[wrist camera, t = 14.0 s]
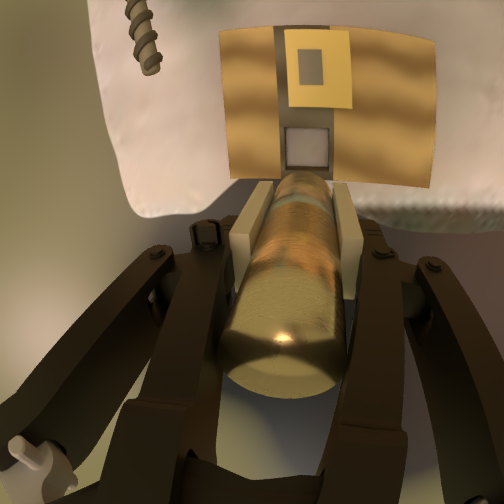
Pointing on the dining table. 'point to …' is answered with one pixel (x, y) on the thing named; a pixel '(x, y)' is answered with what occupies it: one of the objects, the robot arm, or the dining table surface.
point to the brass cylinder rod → (290, 299)
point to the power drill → (143, 36)
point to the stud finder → (318, 68)
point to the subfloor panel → (336, 119)
